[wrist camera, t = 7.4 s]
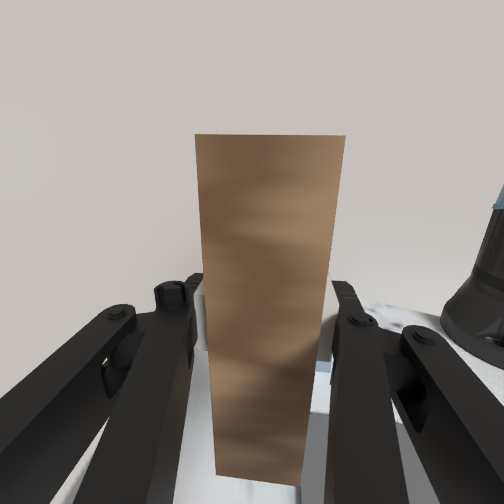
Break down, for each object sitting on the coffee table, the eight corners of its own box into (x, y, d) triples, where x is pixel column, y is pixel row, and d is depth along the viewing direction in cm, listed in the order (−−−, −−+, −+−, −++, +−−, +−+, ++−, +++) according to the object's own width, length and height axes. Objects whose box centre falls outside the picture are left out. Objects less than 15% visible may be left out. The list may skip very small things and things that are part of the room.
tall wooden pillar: (296, 408, 16) (324, 138, 11) (300, 486, 12) (345, 135, 7) (231, 401, 17) (225, 137, 11) (215, 475, 13) (194, 134, 7)
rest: (405, 428, 25) (406, 424, 25) (474, 593, 16) (477, 589, 16) (296, 416, 26) (297, 412, 26) (303, 564, 17) (304, 559, 17)
